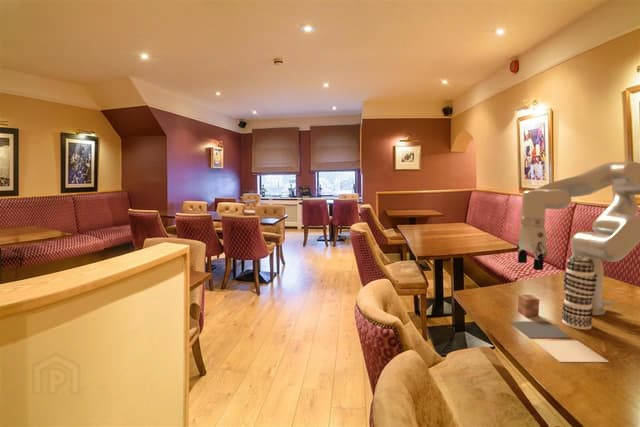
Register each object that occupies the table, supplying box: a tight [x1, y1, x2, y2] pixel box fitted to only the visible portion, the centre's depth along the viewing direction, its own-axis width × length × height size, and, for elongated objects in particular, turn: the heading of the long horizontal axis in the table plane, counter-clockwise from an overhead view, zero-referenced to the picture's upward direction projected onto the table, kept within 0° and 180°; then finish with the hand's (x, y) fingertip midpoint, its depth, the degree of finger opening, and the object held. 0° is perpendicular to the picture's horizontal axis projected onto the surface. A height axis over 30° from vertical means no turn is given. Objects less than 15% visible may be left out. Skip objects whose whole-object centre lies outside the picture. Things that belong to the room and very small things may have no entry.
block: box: [517, 294, 540, 318], centre depth 124 cm, size 5×5×7 cm
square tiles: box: [509, 320, 610, 363], centre depth 105 cm, size 14×26×1 cm, turn 178°
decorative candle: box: [561, 256, 597, 330], centre depth 114 cm, size 9×9×25 cm
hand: (529, 266), depth 122 cm, fingers open, 9 cm apart
